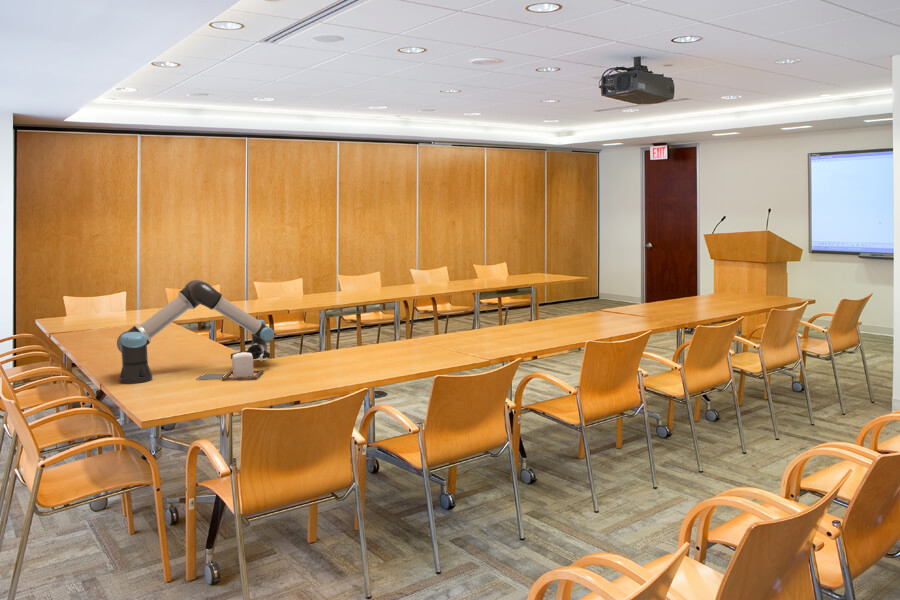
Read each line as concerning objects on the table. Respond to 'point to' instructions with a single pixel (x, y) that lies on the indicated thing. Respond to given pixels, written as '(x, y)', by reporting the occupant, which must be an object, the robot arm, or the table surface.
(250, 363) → the photo printer
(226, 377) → the walnut frame
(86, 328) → the table surface
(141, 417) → the table surface
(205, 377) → the rubber mat
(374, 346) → the table surface
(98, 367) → the table surface
